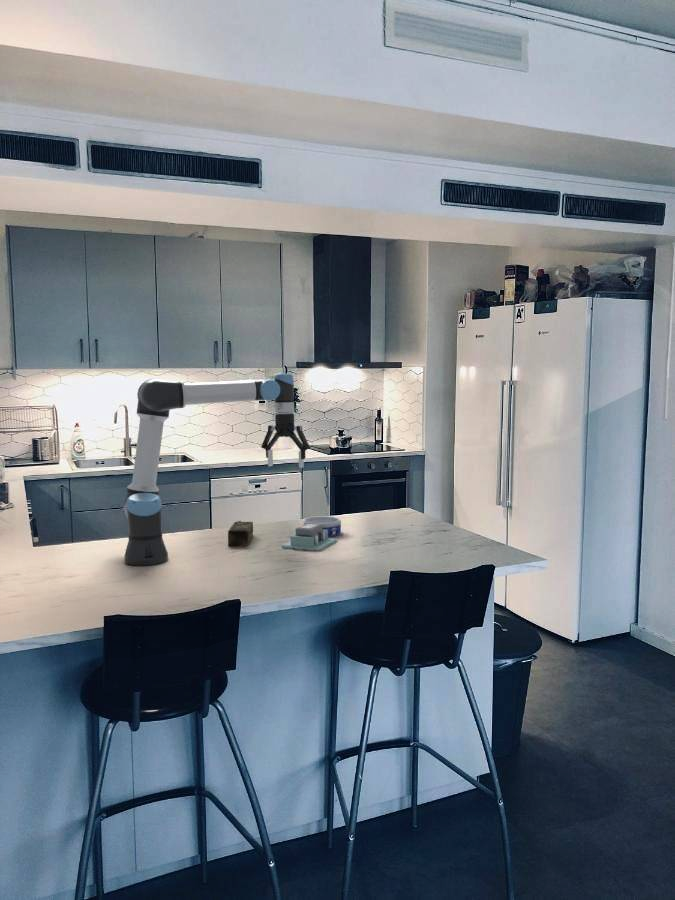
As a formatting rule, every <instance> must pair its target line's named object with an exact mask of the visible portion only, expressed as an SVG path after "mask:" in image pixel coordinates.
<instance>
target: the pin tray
mask: <svg viewBox="0 0 675 900" xmlns="http://www.w3.org/2000/svg"><path fill="white" fill-rule="evenodd" d="M336 542H338V538H332V537H328V530H323V532H322V541H320V542H318V536H315V544H314V537H306V536H296V533H292V535H290V540H289V541H287V542H285V543H282V544H281V548H282V547H283V548H282V549H291V548H295V550H302V549H307V550H306V551H313V550H316V551H315V552H321V551H322V550H325V549H326V547H327V548H328V547H330V546H331V545H333V544H335V543H336Z"/></svg>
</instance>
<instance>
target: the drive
mask: <svg viewBox="0 0 675 900" xmlns="http://www.w3.org/2000/svg"><path fill="white" fill-rule="evenodd" d="M322 532H323V525H320V524H309V523H308V524H306V525H304V524H303V525H301V526H298V527H296V528H295V534H296V536H306V537H314V544H315V536H318V542H320V541H322Z"/></svg>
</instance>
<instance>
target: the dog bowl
mask: <svg viewBox="0 0 675 900" xmlns="http://www.w3.org/2000/svg"><path fill="white" fill-rule="evenodd" d="M308 523H309V524H320V525H323V530H328V538H334V537H335V538H336V537H338V536H339V535H341V532H342V531H341V530H342V529H341V528H342V519H340V518H339V517H338V516H337V517H336V516H328V515H327V516H326V515H320V516H319V515H317V516H309V517H307V518H304V519H303V525H306V524H308Z"/></svg>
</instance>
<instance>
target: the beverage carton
mask: <svg viewBox="0 0 675 900" xmlns="http://www.w3.org/2000/svg"><path fill="white" fill-rule="evenodd" d="M253 533H254V522H253V521H242V520H238V521H234V522H233V524H232V525H231V527H230V528H229V529H228V531H227V547H248V545H249V543H250V542H251V540H252V537H253ZM241 545H242V546H241Z"/></svg>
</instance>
